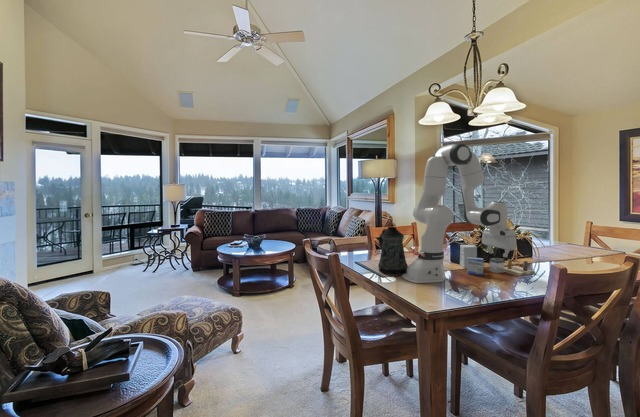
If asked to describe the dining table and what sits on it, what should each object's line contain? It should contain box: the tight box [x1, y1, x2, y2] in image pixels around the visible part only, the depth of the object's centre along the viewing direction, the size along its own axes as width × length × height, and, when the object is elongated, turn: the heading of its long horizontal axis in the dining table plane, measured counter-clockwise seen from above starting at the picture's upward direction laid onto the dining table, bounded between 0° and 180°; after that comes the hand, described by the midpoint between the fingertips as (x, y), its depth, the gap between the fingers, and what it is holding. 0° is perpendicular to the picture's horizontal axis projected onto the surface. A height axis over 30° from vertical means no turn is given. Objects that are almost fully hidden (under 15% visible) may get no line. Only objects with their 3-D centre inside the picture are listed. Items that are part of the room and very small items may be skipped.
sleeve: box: [488, 257, 506, 274], centre depth 181 cm, size 5×5×7 cm
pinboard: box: [503, 258, 536, 276], centre depth 181 cm, size 12×12×6 cm
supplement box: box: [459, 244, 478, 269], centre depth 192 cm, size 7×7×13 cm
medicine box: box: [466, 257, 485, 276], centre depth 178 cm, size 8×4×9 cm, turn 62°
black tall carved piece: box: [377, 226, 409, 276], centre depth 187 cm, size 16×19×25 cm
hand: (498, 255), depth 181 cm, fingers open, 8 cm apart
